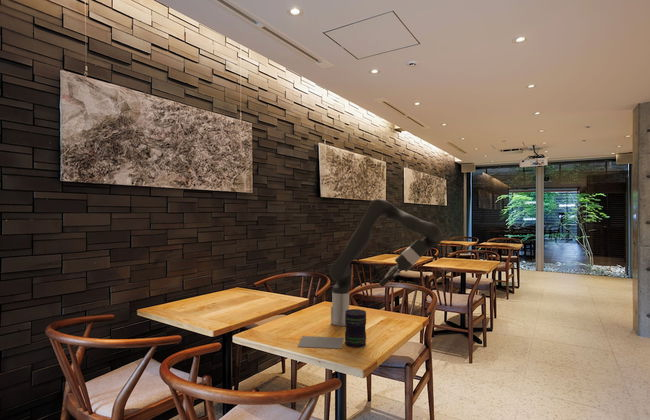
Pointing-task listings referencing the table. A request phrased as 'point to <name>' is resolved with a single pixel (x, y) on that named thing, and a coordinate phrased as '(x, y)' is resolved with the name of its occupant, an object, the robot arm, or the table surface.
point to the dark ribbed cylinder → (355, 328)
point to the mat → (321, 342)
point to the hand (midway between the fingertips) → (380, 285)
